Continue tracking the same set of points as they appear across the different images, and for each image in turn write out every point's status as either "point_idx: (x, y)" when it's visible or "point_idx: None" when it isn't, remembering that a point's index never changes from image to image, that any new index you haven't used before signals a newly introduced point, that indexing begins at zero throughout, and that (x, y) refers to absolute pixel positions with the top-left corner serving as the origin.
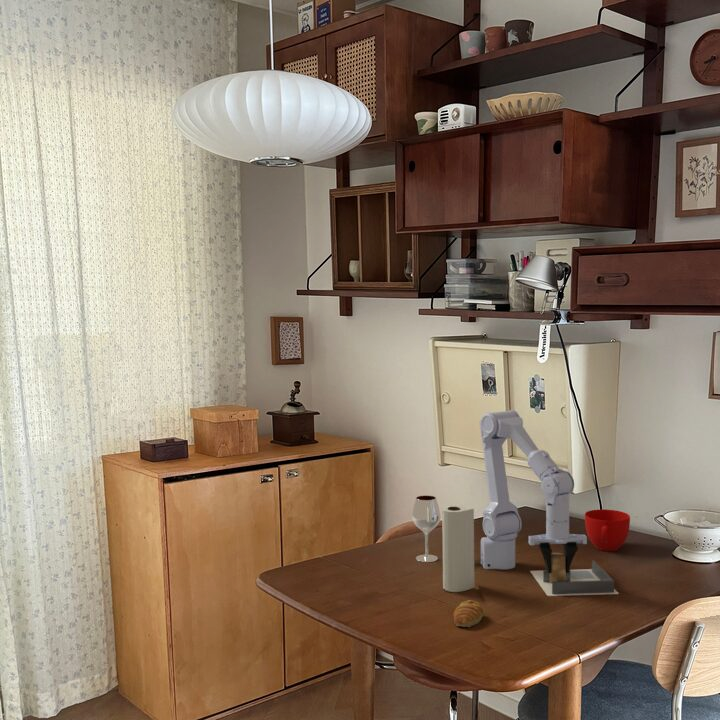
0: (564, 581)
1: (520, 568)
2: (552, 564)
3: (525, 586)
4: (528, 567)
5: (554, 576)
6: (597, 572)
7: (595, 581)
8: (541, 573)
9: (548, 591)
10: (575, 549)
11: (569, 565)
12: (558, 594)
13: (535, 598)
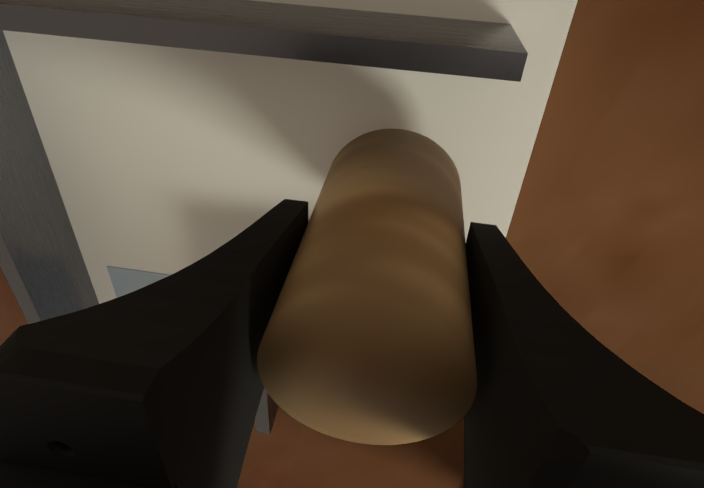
0: (377, 66)
1: (458, 463)
2: (461, 274)
3: (576, 277)
4: (414, 462)
5: (443, 180)
6: (70, 294)
7: (51, 7)
8: None
9: (511, 98)
10: (36, 339)
11: (255, 228)
12: (456, 10)
13: (659, 39)
